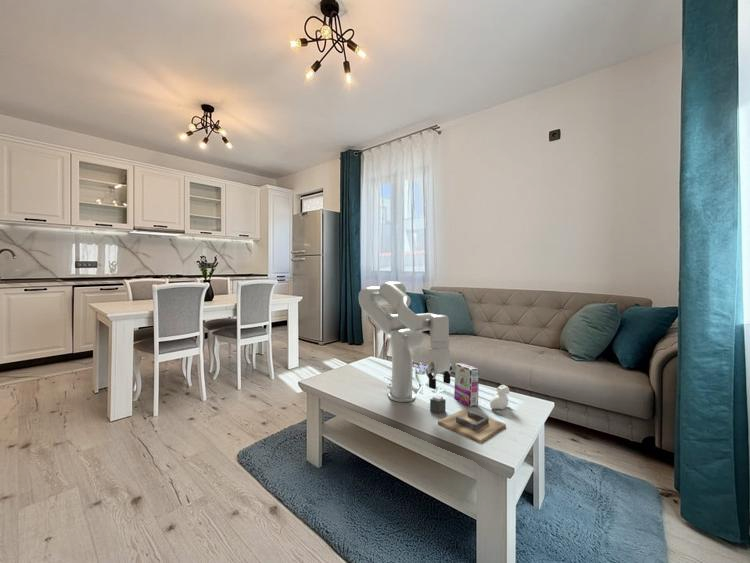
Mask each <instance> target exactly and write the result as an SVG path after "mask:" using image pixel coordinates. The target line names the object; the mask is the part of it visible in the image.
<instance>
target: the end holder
mask: <svg viewBox="0 0 750 563" xmlns="http://www.w3.org/2000/svg"><path fill="white" fill-rule="evenodd" d="M437 424H438V425H440V426H443V427H444V428H447V429H449V430H451V431H454V432H456V433H458V434H460V435H461V436H464V437H467V438H469V439H471V440H473V441H476V442H478V443H479V444H482V443H483V442H484V441H486V440H487V439H489V438H491V437H492V436H493V435H495V434H497V433H498V432H500V431H502V430H503V429H504V428H506V427H507V426H506V425H507V424H506V423H503V422H501V421H499V420H496V419H493V418H490V417H488V416H485V415H483V414H480V413H478V412H475V411H472V410H470V409H467V408H462V409H460V410H458V411H455V412H454V413H451V414H450V415H447V416H446V417H443V418H441V419H438V421H437Z"/></svg>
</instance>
